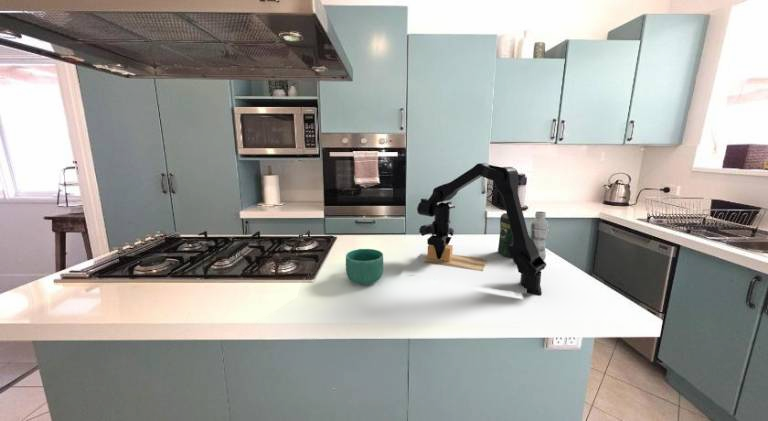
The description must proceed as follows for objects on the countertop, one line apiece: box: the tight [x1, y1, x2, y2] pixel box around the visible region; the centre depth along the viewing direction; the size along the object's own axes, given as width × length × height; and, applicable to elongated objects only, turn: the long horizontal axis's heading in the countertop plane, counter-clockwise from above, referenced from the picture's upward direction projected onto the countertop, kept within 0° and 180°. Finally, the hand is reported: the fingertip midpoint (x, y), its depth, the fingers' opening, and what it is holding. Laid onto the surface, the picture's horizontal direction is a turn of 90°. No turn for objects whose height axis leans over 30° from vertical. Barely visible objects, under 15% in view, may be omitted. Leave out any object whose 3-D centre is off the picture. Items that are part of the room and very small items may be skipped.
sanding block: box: [426, 244, 453, 261], centre depth 121 cm, size 5×9×5 cm, turn 66°
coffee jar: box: [497, 212, 513, 259], centre depth 125 cm, size 10×8×19 cm
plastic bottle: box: [530, 211, 550, 261], centre depth 121 cm, size 6×7×20 cm
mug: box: [345, 248, 384, 286], centre depth 104 cm, size 17×13×10 cm
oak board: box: [423, 253, 488, 272], centre depth 119 cm, size 14×22×2 cm, turn 66°
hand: (440, 256), depth 121 cm, fingers closed on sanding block, 5 cm apart
